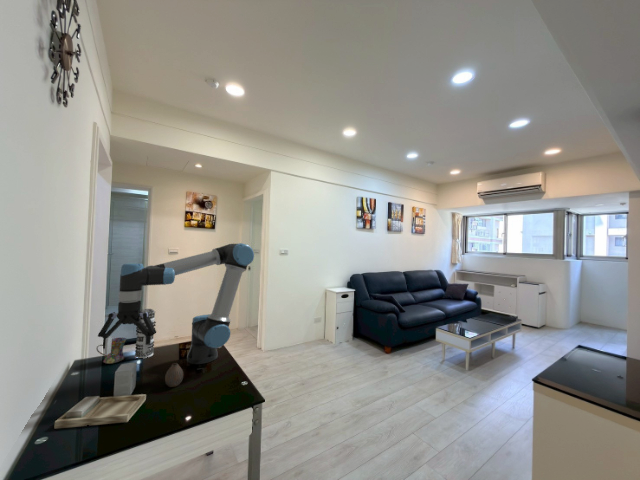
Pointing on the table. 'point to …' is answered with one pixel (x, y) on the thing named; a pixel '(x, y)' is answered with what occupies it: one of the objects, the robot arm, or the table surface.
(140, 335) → the decorative candle
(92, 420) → the organizer
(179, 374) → the vase
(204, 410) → the table surface
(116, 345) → the mug
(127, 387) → the small box
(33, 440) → the table surface
